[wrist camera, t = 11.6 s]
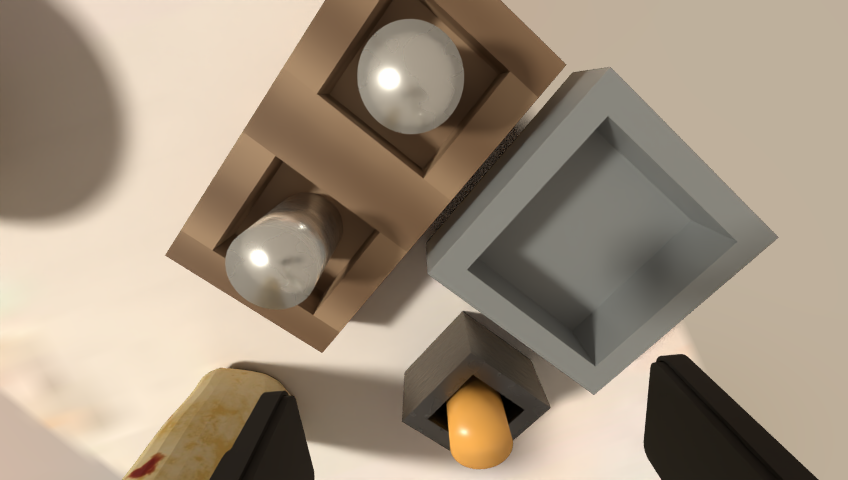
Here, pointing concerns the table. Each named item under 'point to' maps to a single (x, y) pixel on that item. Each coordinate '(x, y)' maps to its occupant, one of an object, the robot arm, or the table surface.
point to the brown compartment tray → (363, 150)
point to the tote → (594, 232)
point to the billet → (410, 76)
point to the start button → (478, 426)
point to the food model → (203, 426)
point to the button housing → (454, 364)
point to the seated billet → (285, 251)
